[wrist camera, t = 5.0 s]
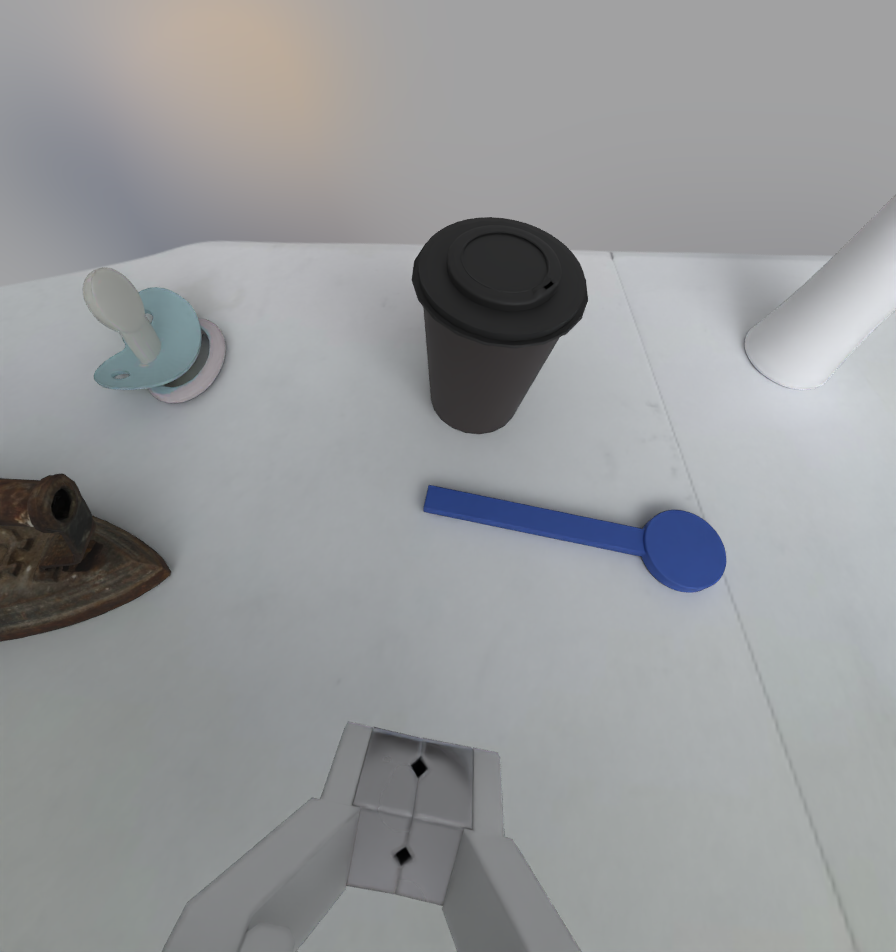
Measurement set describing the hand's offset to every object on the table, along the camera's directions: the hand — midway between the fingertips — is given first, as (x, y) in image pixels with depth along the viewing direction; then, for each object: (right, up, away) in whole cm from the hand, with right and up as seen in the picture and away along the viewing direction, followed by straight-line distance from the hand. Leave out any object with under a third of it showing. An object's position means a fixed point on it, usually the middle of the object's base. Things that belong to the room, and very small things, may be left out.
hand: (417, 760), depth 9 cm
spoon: (+7, +3, +17) cm, 18 cm away
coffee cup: (+2, +10, +20) cm, 23 cm away
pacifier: (-16, +12, +20) cm, 28 cm away
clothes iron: (-18, +1, +13) cm, 23 cm away
